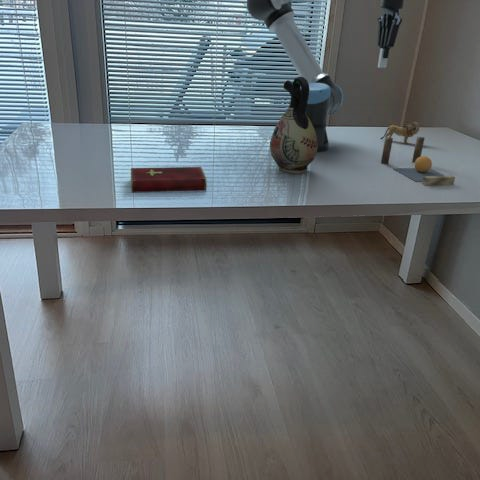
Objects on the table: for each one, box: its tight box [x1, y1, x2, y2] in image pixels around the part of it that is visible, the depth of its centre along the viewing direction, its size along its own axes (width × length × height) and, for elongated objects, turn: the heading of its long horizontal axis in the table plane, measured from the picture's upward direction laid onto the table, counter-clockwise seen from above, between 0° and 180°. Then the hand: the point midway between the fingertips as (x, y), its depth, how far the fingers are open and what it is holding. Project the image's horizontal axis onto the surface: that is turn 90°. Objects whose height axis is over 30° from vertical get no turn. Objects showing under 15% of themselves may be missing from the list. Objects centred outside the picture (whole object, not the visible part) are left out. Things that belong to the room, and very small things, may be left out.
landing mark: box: [392, 167, 445, 183], centre depth 163 cm, size 14×14×1 cm
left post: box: [380, 136, 394, 165], centre depth 171 cm, size 3×3×9 cm
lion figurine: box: [380, 121, 420, 145], centre depth 202 cm, size 15×5×9 cm, turn 71°
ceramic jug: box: [269, 76, 318, 174], centre depth 154 cm, size 17×15×30 cm
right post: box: [411, 136, 425, 164], centre depth 174 cm, size 3×3×9 cm
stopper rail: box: [421, 174, 456, 187], centre depth 153 cm, size 10×2×2 cm, turn 104°
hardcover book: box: [130, 166, 208, 193], centre depth 142 cm, size 12×21×4 cm, turn 101°
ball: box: [414, 155, 433, 172], centre depth 164 cm, size 6×6×6 cm
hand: (381, 67), depth 179 cm, fingers closed
